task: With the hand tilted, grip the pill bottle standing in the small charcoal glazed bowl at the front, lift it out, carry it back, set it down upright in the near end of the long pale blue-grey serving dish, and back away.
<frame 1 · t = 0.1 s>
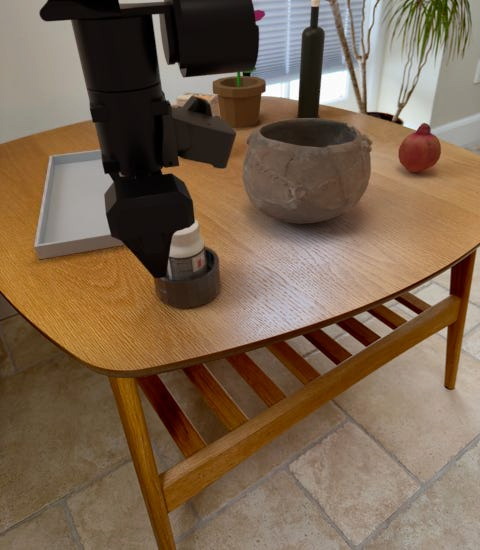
hand: (153, 250, 43), 14 cm above the table, tool pointing down, fingers open, 9 cm apart
flowerpot: (239, 122, 120), on the table
wine bottle: (307, 117, 122), on the table
supplement box: (202, 154, 101), on the table
serving dish: (88, 198, 84), on the table
charcoal bowl: (188, 288, 61), on the table
fruit: (414, 172, 90), on the table
clay pot: (302, 214, 77), on the table
pill bottle: (188, 287, 61), resting on charcoal bowl
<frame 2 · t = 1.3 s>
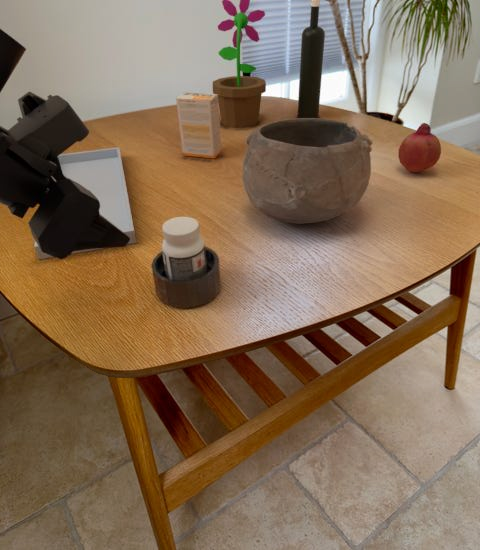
hand: (111, 224, 49), 13 cm above the table, tool tilted 45°, fingers open, 9 cm apart
nothing on the table moved.
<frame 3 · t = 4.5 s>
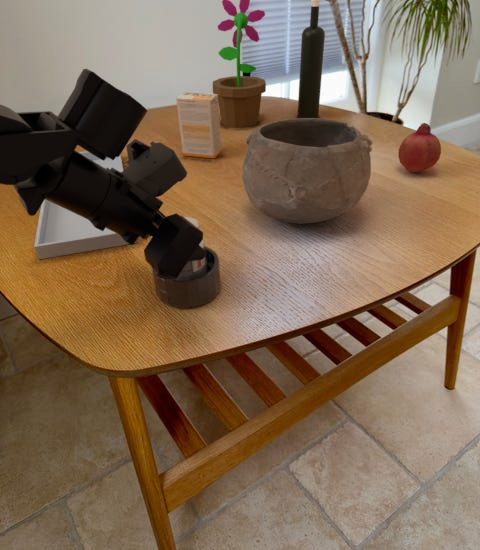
hand: (192, 245, 58), 7 cm above the table, tool tilted 45°, fingers closed on pill bottle, 6 cm apart
pill bottle: (188, 287, 61), resting on charcoal bowl, touching gripper
everything else where it was.
when the fingers open (7 cm above the table, at t = 12.1 s): pill bottle stays where it is, resting on serving dish.
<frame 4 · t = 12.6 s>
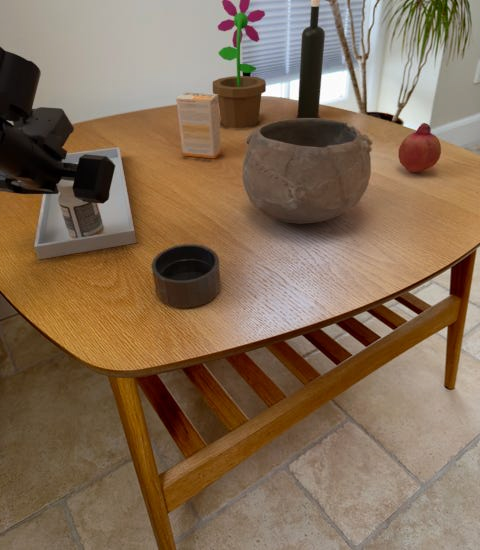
hand: (82, 193, 70), 7 cm above the table, tool tilted 45°, fingers open, 9 cm apart
pill bottle: (87, 236, 73), resting on serving dish
everything else where it was.
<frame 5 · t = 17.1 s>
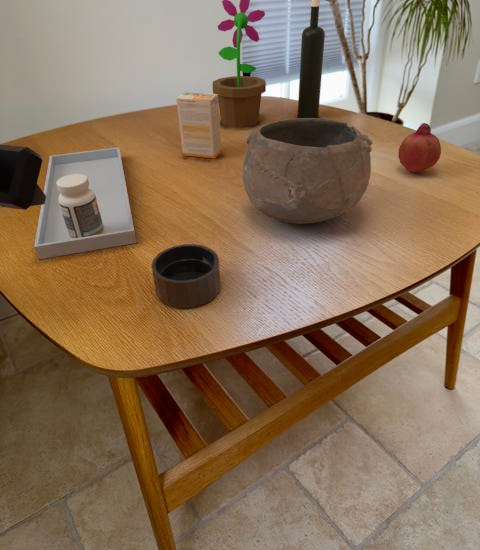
hand: (13, 196, 55), 14 cm above the table, tool tilted 45°, fingers open, 9 cm apart
nothing on the table moved.
at the end: pill bottle inside the target area in the serving dish (1.1 cm from its centre), point 0.2 cm above the serving dish's base; pill bottle tilted 0°; the gripper is holding nothing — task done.
